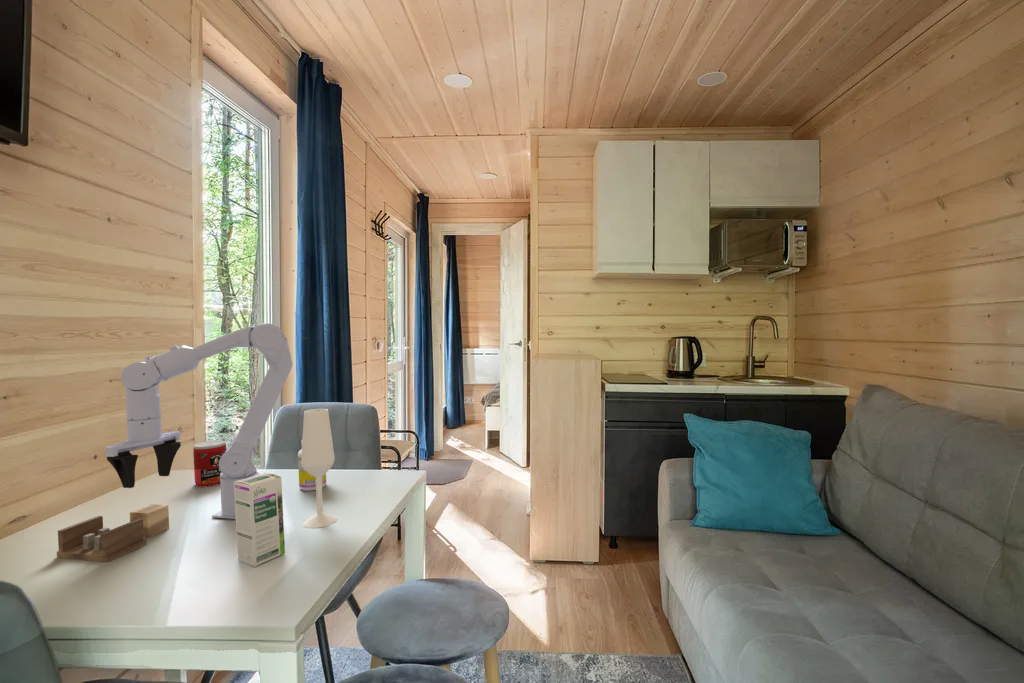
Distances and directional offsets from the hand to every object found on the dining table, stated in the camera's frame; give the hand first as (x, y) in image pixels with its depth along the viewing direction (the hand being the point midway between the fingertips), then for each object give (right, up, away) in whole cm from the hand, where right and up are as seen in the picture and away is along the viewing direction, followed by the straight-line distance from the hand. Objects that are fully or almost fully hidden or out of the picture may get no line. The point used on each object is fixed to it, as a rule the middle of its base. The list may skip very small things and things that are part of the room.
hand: (147, 481), depth 98 cm
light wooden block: (+2, -10, -2) cm, 11 cm away
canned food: (-6, -10, +30) cm, 32 cm away
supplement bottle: (+25, -9, +24) cm, 36 cm away
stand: (0, -10, -10) cm, 14 cm away
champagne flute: (+37, -9, +1) cm, 38 cm away
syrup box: (+32, -10, -15) cm, 37 cm away
